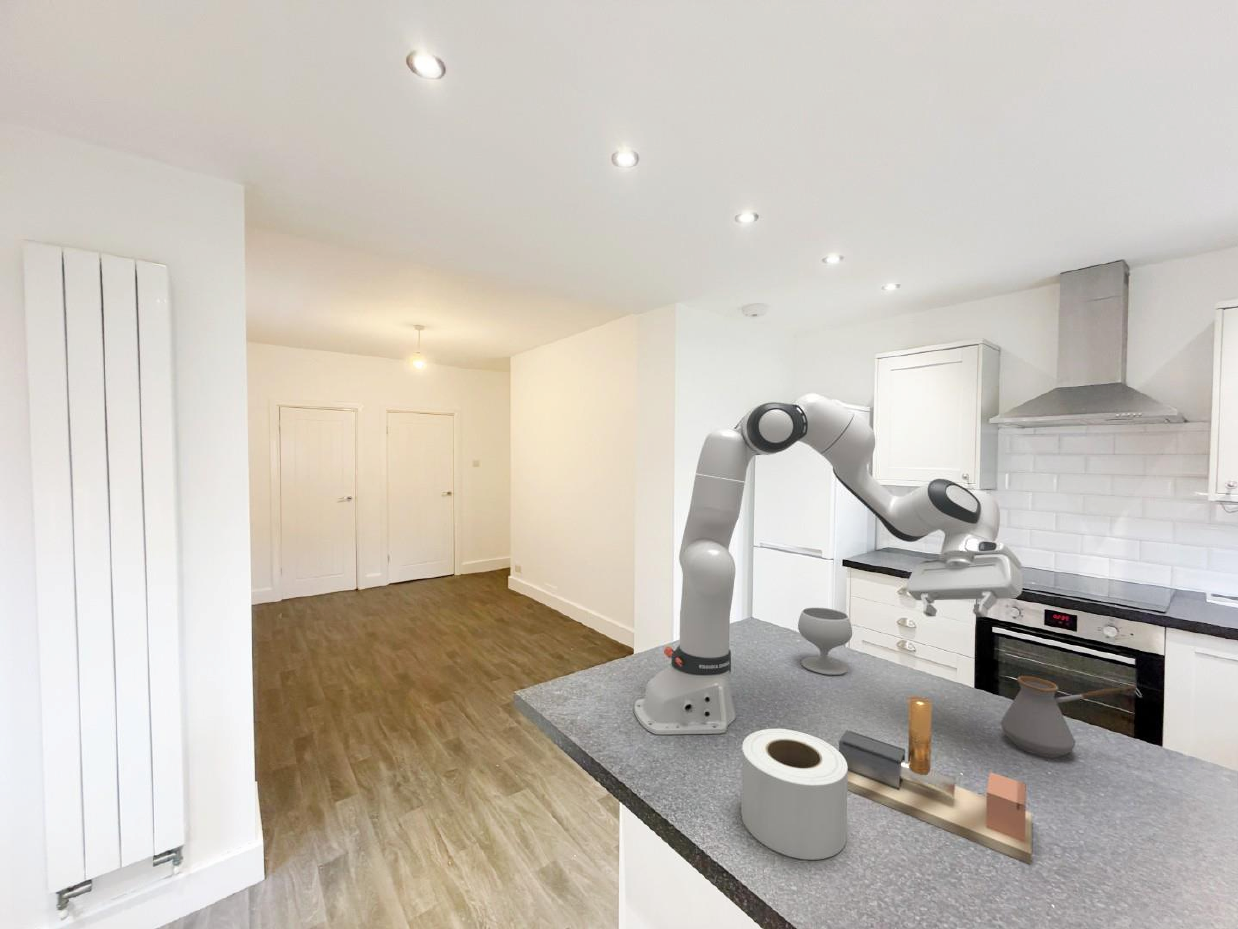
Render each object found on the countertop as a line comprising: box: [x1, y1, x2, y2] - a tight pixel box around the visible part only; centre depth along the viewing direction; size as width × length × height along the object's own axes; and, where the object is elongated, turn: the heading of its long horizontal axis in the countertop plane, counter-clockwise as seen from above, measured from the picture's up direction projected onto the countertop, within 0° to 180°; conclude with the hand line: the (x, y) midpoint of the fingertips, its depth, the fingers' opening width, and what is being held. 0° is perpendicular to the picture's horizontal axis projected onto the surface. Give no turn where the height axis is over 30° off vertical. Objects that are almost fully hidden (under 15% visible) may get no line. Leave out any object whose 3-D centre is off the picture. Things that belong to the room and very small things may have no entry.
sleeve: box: [838, 729, 906, 790], centre depth 88 cm, size 10×5×5 cm, turn 50°
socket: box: [986, 771, 1027, 842], centre depth 76 cm, size 4×7×5 cm
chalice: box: [797, 607, 853, 676], centre depth 138 cm, size 14×14×15 cm
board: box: [847, 771, 1032, 865], centre depth 82 cm, size 27×11×2 cm, turn 50°
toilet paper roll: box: [740, 728, 848, 861], centre depth 77 cm, size 16×15×11 cm
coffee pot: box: [1000, 675, 1143, 758], centre depth 98 cm, size 21×12×15 cm, turn 67°
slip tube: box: [900, 695, 957, 799], centre depth 85 cm, size 16×3×14 cm, turn 50°
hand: (953, 615), depth 95 cm, fingers open, 8 cm apart
